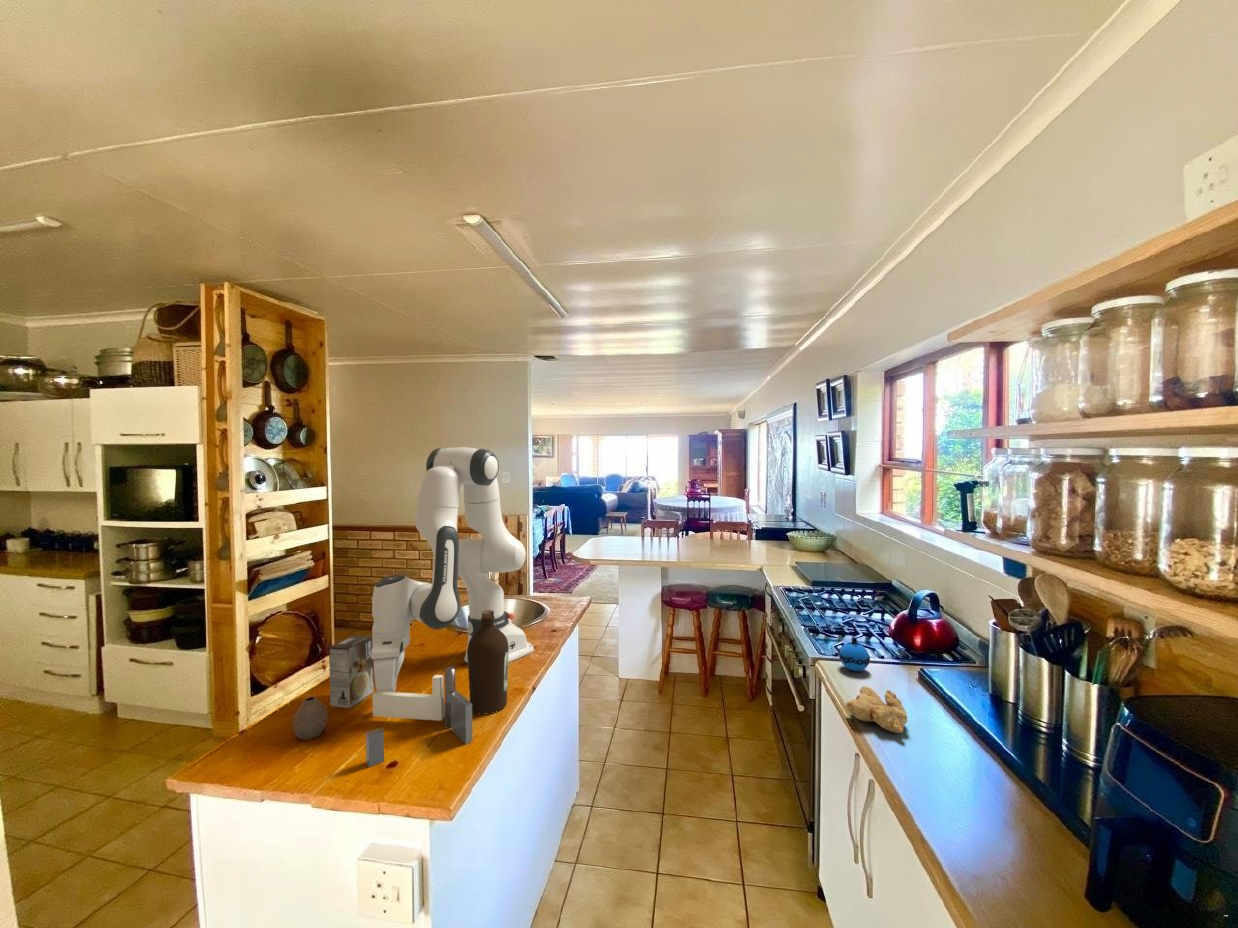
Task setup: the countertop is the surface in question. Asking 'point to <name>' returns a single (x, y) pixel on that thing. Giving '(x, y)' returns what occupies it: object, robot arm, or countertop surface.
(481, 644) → the olive oil
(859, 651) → the ornament
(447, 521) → the robot arm
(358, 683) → the coffee box
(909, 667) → the countertop surface
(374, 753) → the gate posts
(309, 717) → the vase
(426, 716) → the gate
